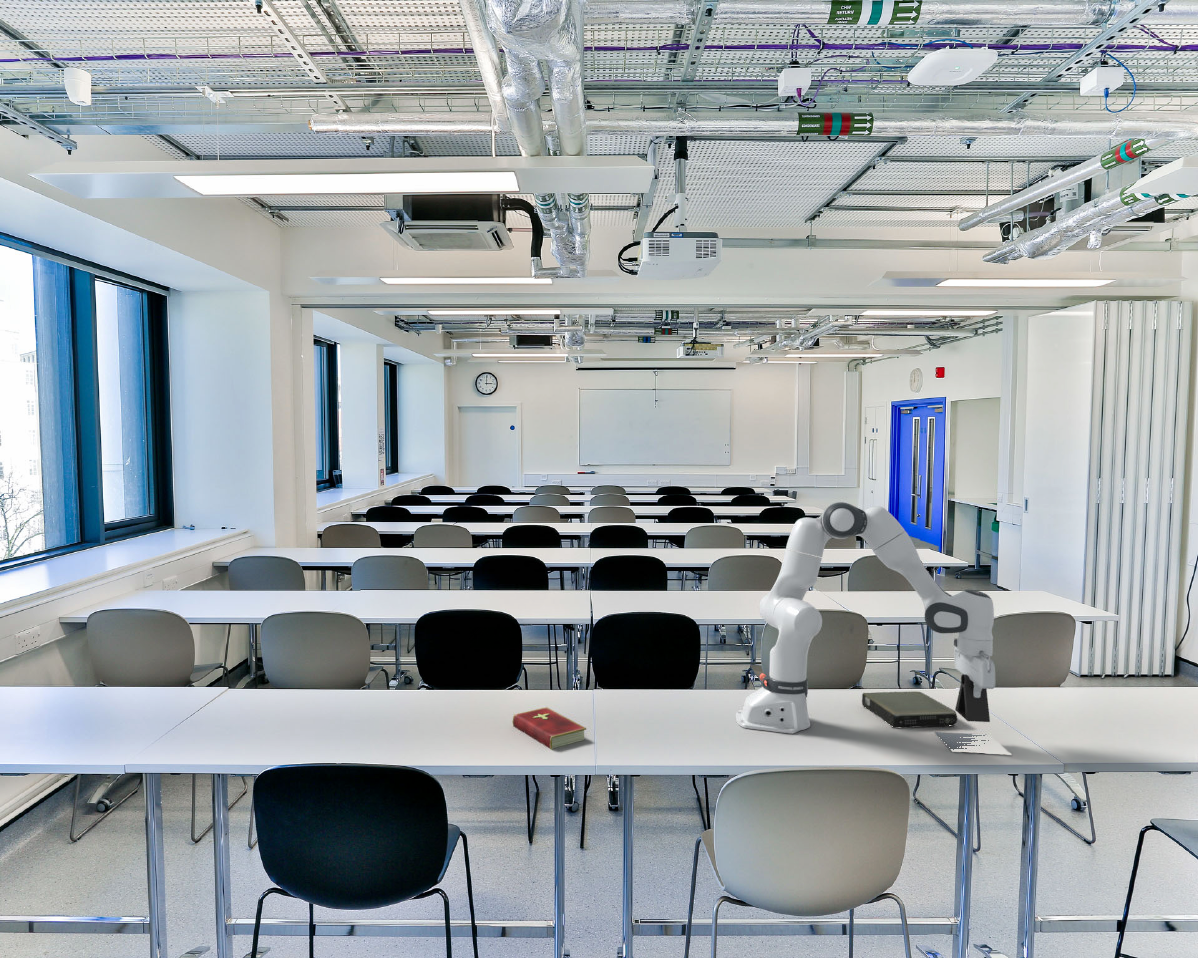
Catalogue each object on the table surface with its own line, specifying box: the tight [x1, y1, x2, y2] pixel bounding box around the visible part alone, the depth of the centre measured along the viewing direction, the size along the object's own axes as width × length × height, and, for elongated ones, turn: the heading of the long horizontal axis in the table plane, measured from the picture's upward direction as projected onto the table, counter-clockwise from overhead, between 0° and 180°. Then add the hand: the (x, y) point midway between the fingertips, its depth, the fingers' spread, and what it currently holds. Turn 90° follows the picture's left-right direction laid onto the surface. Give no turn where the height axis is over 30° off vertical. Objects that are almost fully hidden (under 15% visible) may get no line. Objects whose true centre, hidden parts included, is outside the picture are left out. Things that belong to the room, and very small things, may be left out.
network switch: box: [861, 690, 958, 728], centre depth 238 cm, size 23×23×5 cm
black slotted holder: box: [954, 673, 991, 723], centre depth 215 cm, size 9×6×12 cm, turn 176°
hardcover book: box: [512, 706, 587, 750], centre depth 218 cm, size 12×21×4 cm, turn 36°
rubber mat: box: [934, 731, 989, 750], centre depth 215 cm, size 16×14×1 cm
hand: (973, 694), depth 214 cm, fingers closed on black slotted holder, 2 cm apart
